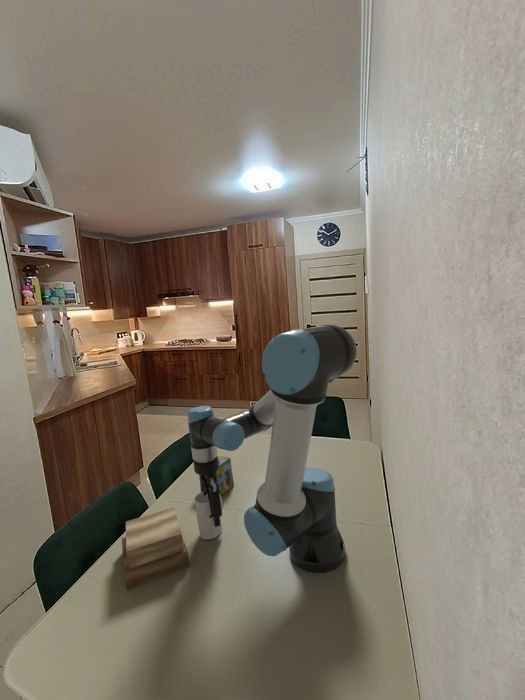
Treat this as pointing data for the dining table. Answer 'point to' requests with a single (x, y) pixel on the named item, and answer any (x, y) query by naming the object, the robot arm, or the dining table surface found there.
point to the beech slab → (153, 537)
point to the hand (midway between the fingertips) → (213, 527)
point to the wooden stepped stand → (153, 567)
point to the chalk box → (224, 475)
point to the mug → (204, 515)
